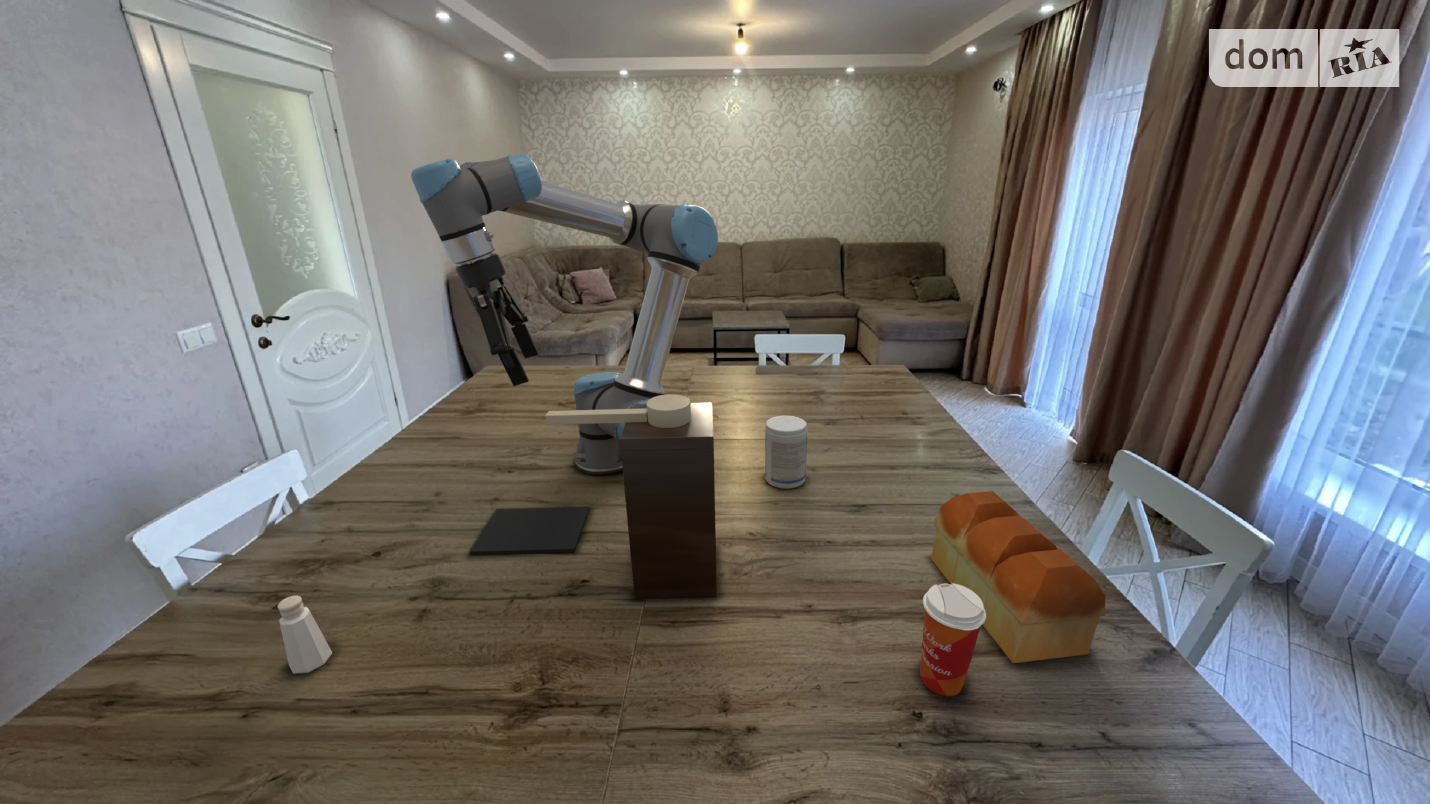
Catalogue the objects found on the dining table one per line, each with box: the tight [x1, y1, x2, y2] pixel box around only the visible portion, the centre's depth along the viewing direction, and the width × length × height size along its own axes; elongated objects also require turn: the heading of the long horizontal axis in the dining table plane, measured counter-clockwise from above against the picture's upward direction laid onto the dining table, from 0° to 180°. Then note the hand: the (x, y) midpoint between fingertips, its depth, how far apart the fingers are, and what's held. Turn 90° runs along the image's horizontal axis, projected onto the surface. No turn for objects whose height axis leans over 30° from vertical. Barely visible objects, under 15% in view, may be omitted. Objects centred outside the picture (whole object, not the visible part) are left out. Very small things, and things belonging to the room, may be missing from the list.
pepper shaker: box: [277, 595, 333, 675], centre depth 80 cm, size 5×5×11 cm
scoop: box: [545, 393, 692, 428], centre depth 88 cm, size 7×23×3 cm, turn 91°
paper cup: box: [919, 582, 986, 697], centre depth 74 cm, size 8×8×14 cm
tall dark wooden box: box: [620, 402, 718, 600], centre depth 94 cm, size 14×14×30 cm
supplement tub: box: [764, 415, 808, 490], centre depth 127 cm, size 10×10×15 cm
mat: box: [469, 506, 590, 556], centre depth 112 cm, size 15×20×1 cm
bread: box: [930, 490, 1106, 664], centre depth 88 cm, size 25×12×15 cm, turn 7°
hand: (527, 369), depth 103 cm, fingers open, 13 cm apart
